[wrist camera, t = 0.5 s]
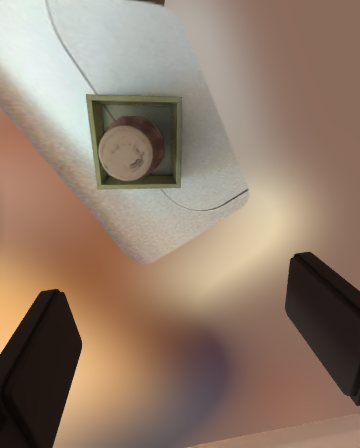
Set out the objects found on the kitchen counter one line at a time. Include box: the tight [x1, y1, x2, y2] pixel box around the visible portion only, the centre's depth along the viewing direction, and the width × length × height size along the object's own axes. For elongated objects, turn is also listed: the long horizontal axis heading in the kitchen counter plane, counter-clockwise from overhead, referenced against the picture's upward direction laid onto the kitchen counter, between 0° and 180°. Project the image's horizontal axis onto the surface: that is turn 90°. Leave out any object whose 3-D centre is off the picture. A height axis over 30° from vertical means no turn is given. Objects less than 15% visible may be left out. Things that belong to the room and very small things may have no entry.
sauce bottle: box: [98, 116, 164, 181], centre depth 27 cm, size 7×6×20 cm
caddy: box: [86, 94, 182, 189], centre depth 33 cm, size 11×11×6 cm
